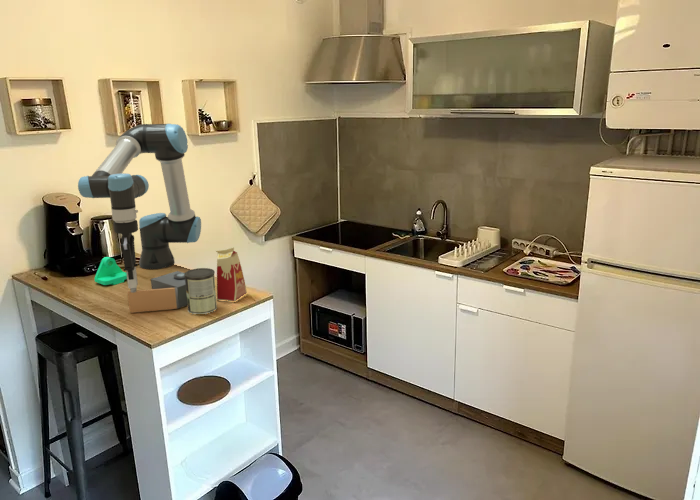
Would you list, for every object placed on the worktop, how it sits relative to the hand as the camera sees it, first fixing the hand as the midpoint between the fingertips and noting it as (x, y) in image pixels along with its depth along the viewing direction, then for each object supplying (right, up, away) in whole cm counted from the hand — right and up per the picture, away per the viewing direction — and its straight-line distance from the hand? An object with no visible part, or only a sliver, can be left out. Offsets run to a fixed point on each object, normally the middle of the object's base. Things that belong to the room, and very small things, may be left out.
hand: (133, 286), depth 187 cm
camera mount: (-22, -1, +36) cm, 42 cm away
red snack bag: (+30, -6, +17) cm, 35 cm away
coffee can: (+23, -9, +6) cm, 25 cm away
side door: (+6, -9, +4) cm, 11 cm away
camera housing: (+11, -6, +16) cm, 20 cm away
